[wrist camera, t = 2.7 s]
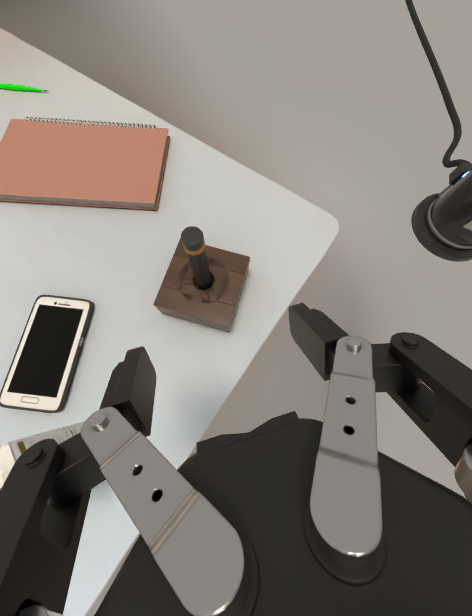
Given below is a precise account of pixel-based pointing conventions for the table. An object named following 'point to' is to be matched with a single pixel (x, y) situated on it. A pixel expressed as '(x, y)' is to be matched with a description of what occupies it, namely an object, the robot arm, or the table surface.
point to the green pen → (19, 87)
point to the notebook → (82, 163)
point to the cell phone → (47, 354)
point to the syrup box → (7, 455)
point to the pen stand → (204, 303)
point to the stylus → (197, 256)
